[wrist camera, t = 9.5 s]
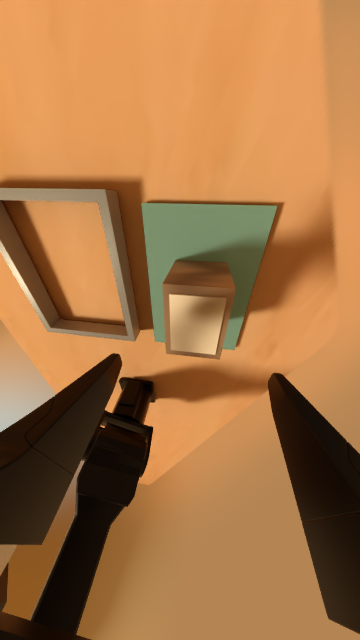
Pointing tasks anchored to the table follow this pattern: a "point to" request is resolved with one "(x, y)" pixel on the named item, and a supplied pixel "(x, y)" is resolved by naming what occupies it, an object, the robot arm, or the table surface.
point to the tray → (8, 242)
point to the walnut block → (197, 307)
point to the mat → (206, 249)
